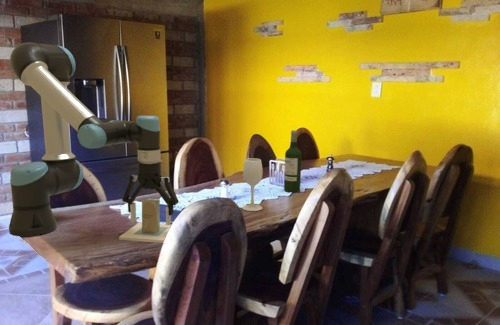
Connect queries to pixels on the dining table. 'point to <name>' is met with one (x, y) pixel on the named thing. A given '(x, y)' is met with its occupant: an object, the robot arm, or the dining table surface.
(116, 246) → the dining table surface
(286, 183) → the wine bottle
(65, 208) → the dining table surface
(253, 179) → the wineglass
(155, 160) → the robot arm
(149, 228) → the box
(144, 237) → the tile
